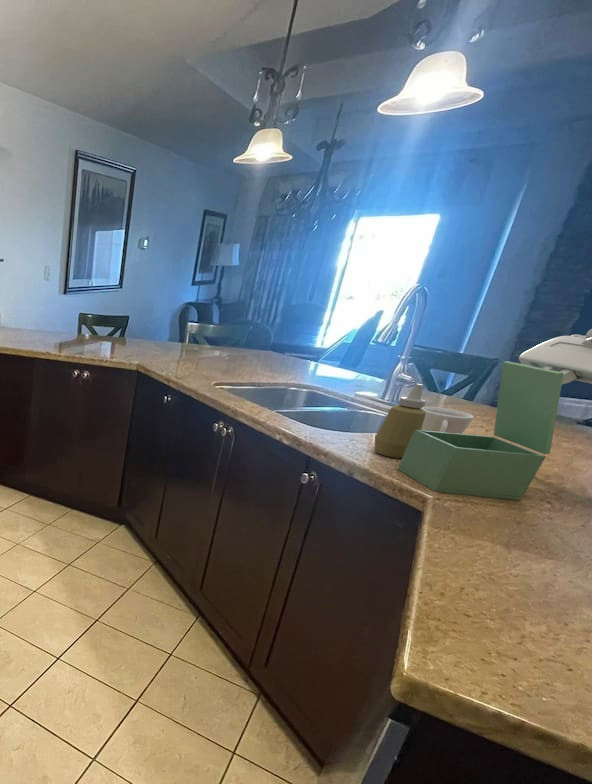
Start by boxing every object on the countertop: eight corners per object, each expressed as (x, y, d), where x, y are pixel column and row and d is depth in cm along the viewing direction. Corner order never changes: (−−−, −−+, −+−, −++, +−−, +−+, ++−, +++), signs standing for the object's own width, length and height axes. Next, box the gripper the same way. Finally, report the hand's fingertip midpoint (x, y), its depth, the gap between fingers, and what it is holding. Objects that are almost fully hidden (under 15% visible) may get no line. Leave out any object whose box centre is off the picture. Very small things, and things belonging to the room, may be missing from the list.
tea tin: (434, 491, 103) (456, 447, 99) (397, 469, 114) (414, 429, 110) (520, 500, 100) (546, 456, 96) (473, 477, 112) (494, 436, 108)
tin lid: (558, 373, 91) (564, 372, 91) (502, 361, 102) (507, 361, 102) (544, 454, 96) (550, 453, 96) (493, 435, 108) (497, 434, 107)
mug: (455, 448, 131) (472, 412, 127) (458, 462, 121) (478, 423, 117) (404, 438, 137) (420, 404, 133) (403, 451, 127) (420, 414, 123)
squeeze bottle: (416, 462, 119) (450, 389, 112) (377, 457, 122) (407, 385, 114) (400, 451, 126) (431, 382, 119) (363, 447, 129) (391, 379, 121)
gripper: (562, 322, 101) (484, 365, 106) (675, 334, 83) (574, 385, 88) (575, 345, 102) (498, 387, 108) (689, 363, 84) (589, 412, 89)
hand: (533, 387), depth 98 cm, fingers closed, pressing on tin lid
